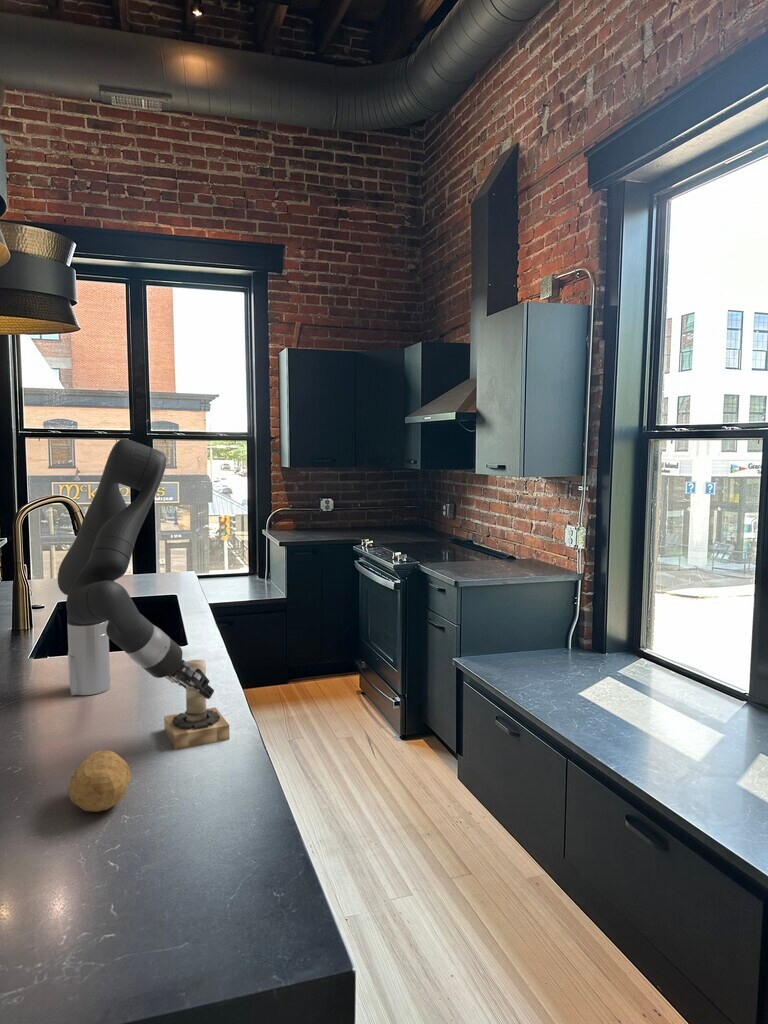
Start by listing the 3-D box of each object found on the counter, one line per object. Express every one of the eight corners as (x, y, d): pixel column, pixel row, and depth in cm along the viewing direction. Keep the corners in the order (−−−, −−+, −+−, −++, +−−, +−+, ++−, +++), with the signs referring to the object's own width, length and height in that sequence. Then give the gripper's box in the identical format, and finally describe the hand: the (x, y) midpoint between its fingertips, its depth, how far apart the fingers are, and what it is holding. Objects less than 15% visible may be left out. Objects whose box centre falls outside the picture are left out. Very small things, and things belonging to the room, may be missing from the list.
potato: (130, 780, 127) (129, 738, 126) (132, 819, 114) (131, 772, 113) (71, 789, 123) (69, 746, 123) (67, 830, 110) (65, 782, 110)
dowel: (188, 732, 144) (187, 666, 143) (184, 725, 147) (183, 661, 146) (208, 729, 146) (207, 663, 144) (204, 722, 149) (203, 658, 148)
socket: (175, 749, 139) (174, 732, 139) (164, 729, 149) (164, 713, 149) (229, 739, 145) (229, 722, 144) (215, 720, 154) (215, 704, 154)
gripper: (187, 639, 134) (236, 683, 145) (142, 628, 143) (191, 670, 154) (164, 673, 131) (216, 716, 142) (120, 659, 139) (172, 701, 150)
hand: (203, 692), depth 148 cm, fingers closed on dowel, 4 cm apart
